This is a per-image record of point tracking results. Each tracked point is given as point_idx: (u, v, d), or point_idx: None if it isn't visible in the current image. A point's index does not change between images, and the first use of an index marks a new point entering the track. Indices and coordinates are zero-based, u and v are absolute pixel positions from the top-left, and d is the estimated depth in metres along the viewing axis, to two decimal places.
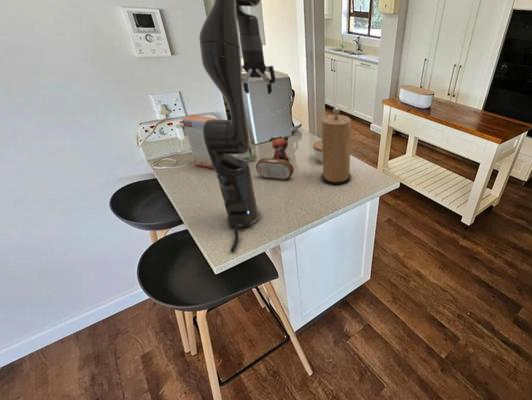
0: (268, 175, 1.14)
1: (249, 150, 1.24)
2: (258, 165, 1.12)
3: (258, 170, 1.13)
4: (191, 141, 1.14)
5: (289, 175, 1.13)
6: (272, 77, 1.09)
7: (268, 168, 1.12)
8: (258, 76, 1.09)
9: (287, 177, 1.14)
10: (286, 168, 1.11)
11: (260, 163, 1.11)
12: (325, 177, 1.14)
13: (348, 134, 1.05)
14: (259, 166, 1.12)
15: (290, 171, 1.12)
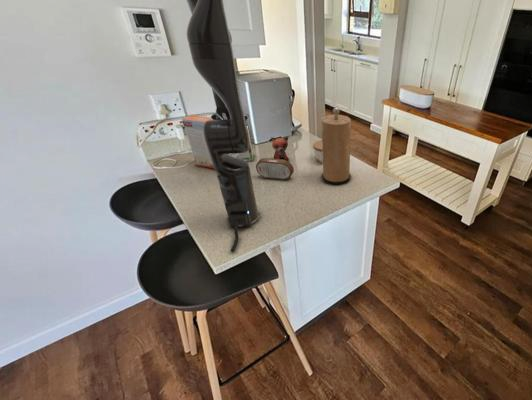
0: (268, 175, 1.14)
1: (249, 150, 1.24)
2: (258, 165, 1.12)
3: (258, 170, 1.13)
4: (191, 141, 1.14)
5: (289, 175, 1.13)
6: None
7: (268, 168, 1.12)
8: (228, 118, 0.99)
9: (287, 177, 1.14)
10: (286, 168, 1.11)
11: (260, 163, 1.11)
12: (325, 177, 1.14)
13: (348, 134, 1.05)
14: (259, 166, 1.12)
15: (290, 171, 1.12)
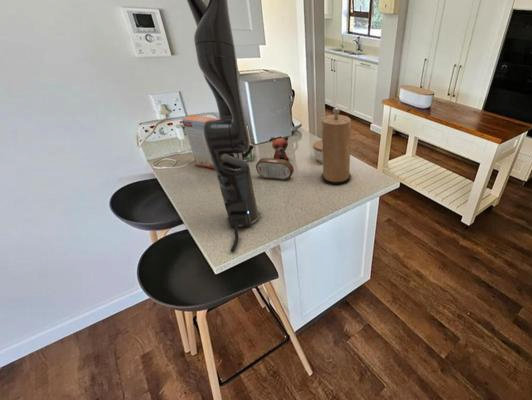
0: (268, 175, 1.14)
1: None
2: (258, 165, 1.12)
3: (258, 170, 1.13)
4: (191, 141, 1.14)
5: (289, 175, 1.13)
6: (247, 153, 1.08)
7: (268, 168, 1.12)
8: None
9: (287, 177, 1.14)
10: (286, 168, 1.11)
11: (260, 163, 1.11)
12: (325, 177, 1.14)
13: (348, 134, 1.05)
14: (259, 166, 1.12)
15: (290, 171, 1.12)
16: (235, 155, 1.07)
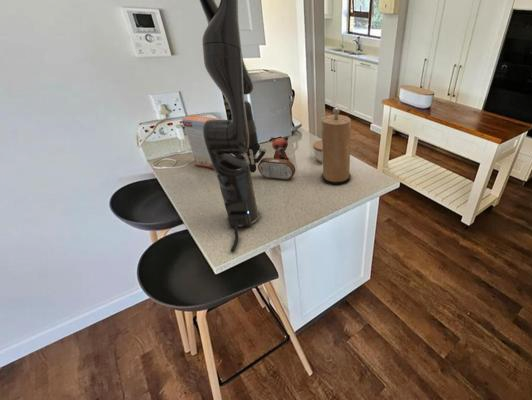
0: (269, 175, 1.15)
1: None
2: (260, 165, 1.12)
3: (260, 170, 1.13)
4: (191, 141, 1.14)
5: (291, 175, 1.13)
6: (259, 159, 1.09)
7: (270, 168, 1.12)
8: (247, 153, 1.08)
9: (289, 177, 1.14)
10: (287, 168, 1.11)
11: (262, 163, 1.11)
12: (325, 177, 1.14)
13: (348, 134, 1.05)
14: (261, 166, 1.12)
15: (292, 171, 1.12)
16: (247, 160, 1.09)
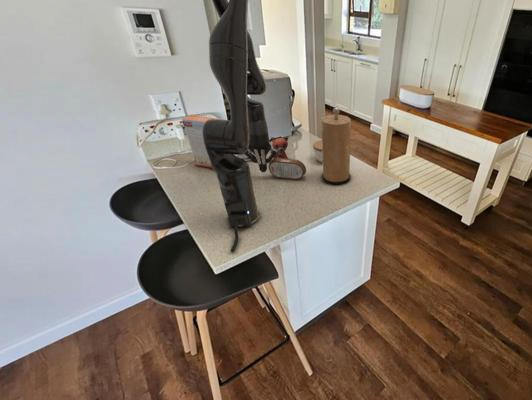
0: (280, 175, 1.15)
1: None
2: (271, 165, 1.12)
3: (271, 170, 1.14)
4: (191, 141, 1.14)
5: (302, 175, 1.14)
6: (270, 159, 1.10)
7: (281, 168, 1.13)
8: (259, 153, 1.08)
9: (299, 177, 1.14)
10: (298, 168, 1.12)
11: (273, 163, 1.12)
12: (325, 177, 1.14)
13: (348, 134, 1.05)
14: (272, 166, 1.13)
15: (303, 171, 1.13)
16: (258, 160, 1.10)
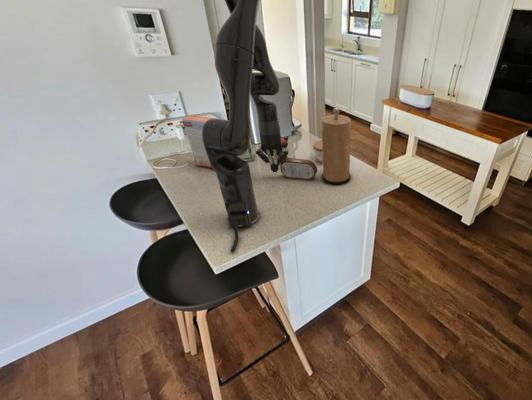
0: (291, 175, 1.15)
1: (249, 150, 1.24)
2: (282, 165, 1.13)
3: (282, 170, 1.14)
4: (191, 141, 1.14)
5: (313, 175, 1.14)
6: (281, 159, 1.10)
7: (292, 168, 1.13)
8: (271, 153, 1.08)
9: (311, 177, 1.15)
10: (310, 168, 1.12)
11: (284, 163, 1.12)
12: (325, 177, 1.14)
13: (348, 134, 1.05)
14: (283, 166, 1.13)
15: (314, 171, 1.13)
16: (270, 160, 1.10)
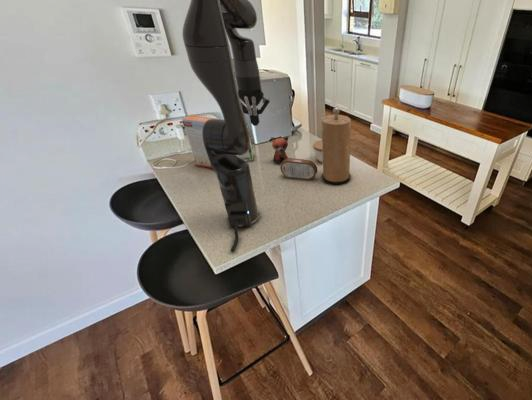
0: (292, 175, 1.15)
1: (249, 150, 1.24)
2: (283, 165, 1.13)
3: (282, 170, 1.14)
4: (191, 141, 1.14)
5: (313, 175, 1.14)
6: (262, 109, 0.98)
7: (293, 168, 1.13)
8: (249, 102, 0.97)
9: (311, 177, 1.15)
10: (310, 168, 1.12)
11: (285, 163, 1.12)
12: (325, 177, 1.14)
13: (348, 134, 1.05)
14: (283, 166, 1.13)
15: (314, 171, 1.13)
16: (249, 111, 0.98)
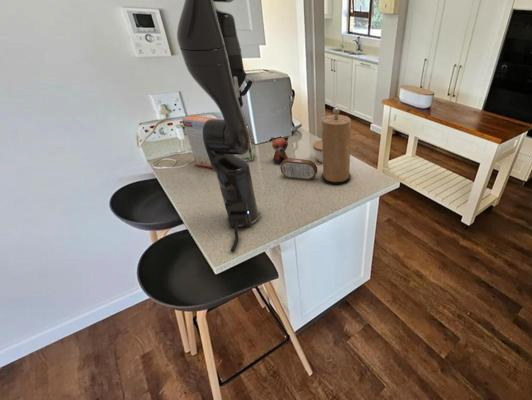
0: (292, 175, 1.15)
1: (249, 150, 1.24)
2: (283, 165, 1.13)
3: (282, 170, 1.14)
4: (191, 141, 1.14)
5: (313, 175, 1.14)
6: (245, 90, 0.94)
7: (293, 168, 1.13)
8: None
9: (311, 177, 1.15)
10: (310, 168, 1.12)
11: (285, 163, 1.12)
12: (325, 177, 1.14)
13: (348, 134, 1.05)
14: (283, 166, 1.13)
15: (314, 171, 1.13)
16: None
